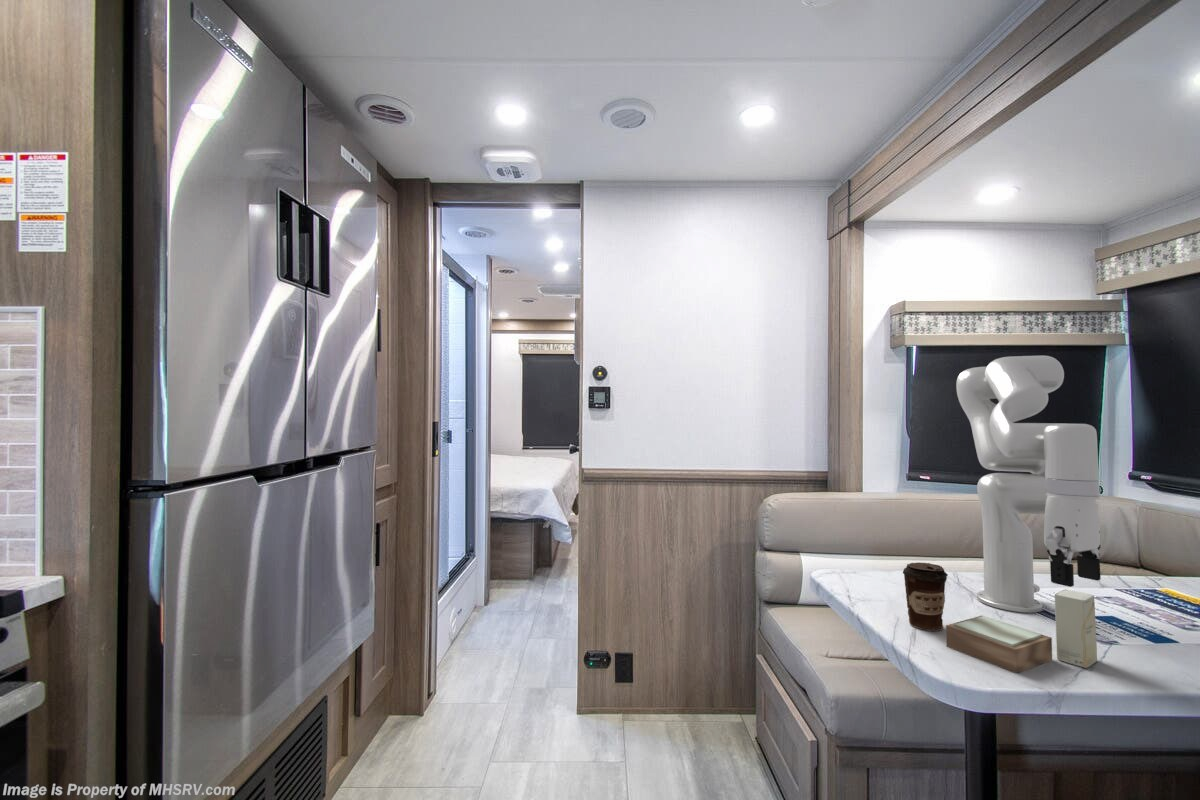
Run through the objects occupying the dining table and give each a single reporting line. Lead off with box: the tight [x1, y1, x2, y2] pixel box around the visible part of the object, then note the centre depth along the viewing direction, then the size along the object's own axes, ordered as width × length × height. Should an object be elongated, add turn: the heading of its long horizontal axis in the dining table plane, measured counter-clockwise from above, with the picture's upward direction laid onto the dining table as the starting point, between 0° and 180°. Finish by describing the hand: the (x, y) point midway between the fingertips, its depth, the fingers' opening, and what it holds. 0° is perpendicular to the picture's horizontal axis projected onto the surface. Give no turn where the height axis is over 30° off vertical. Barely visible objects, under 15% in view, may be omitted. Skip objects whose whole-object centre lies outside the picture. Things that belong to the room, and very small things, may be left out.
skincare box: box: [1054, 588, 1098, 669], centre depth 97 cm, size 6×4×12 cm
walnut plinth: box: [945, 615, 1053, 674], centre depth 100 cm, size 12×12×4 cm
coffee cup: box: [902, 562, 949, 632], centre depth 113 cm, size 9×8×13 cm
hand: (1076, 581), depth 97 cm, fingers open, 9 cm apart
